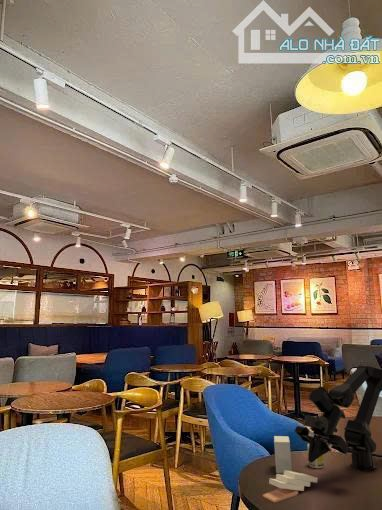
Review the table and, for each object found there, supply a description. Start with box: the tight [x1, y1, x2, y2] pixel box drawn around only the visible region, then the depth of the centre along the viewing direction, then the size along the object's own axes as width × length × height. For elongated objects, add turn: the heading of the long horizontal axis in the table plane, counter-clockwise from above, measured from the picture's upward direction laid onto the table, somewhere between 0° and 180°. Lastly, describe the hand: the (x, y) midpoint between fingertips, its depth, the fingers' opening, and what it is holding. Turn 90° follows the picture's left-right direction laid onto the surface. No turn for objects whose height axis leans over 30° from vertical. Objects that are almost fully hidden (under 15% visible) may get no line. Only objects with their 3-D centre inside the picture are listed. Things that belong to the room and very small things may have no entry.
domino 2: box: [262, 487, 299, 504], centre depth 117 cm, size 1×5×10 cm
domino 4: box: [283, 470, 318, 484], centre depth 123 cm, size 1×5×10 cm
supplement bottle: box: [306, 443, 325, 469], centre depth 142 cm, size 5×5×10 cm
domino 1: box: [268, 477, 305, 492], centre depth 119 cm, size 1×5×10 cm
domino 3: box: [275, 473, 311, 488], centre depth 121 cm, size 1×5×10 cm
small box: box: [273, 435, 293, 474], centre depth 139 cm, size 8×6×10 cm
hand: (309, 461), depth 126 cm, fingers closed
